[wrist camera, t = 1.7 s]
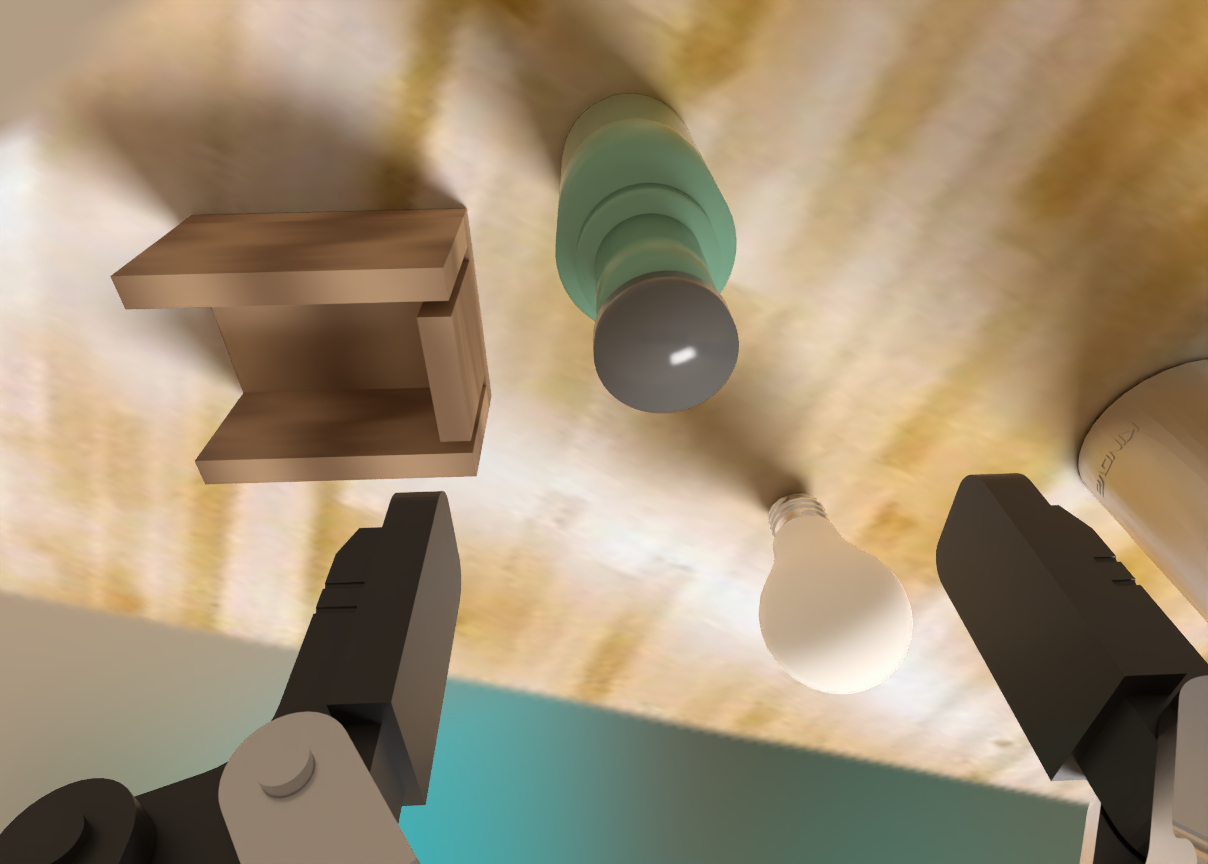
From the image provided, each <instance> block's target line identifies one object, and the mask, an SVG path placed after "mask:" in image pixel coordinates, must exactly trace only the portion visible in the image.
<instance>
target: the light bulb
mask: <svg viewBox="0 0 1208 864" xmlns="http://www.w3.org/2000/svg"><path fill="white" fill-rule="evenodd" d="M768 521H769V524H770V529H771V530H772V535H773V536H774V540H773V551H774V558H775V560H774V565H773V567H772V570H771V572H770V574H769V576H768V578H767V580H766V583H765V585H764V588H763V591H762V593H761V597H760V606H759V620H760V627H761V631H762V635H763V638H764V641H765V643H766V646H767V648H768V649H769V651H770V653H771V654H772V656H773V657H774V659H775V660H776V662H777V663H778V664H779V665H780V666H781V667H782V668H783V669H784V670H785V671H786V672H787V673H788V674H789V675H790V676H792V677H793V678H794V679H796V680H797V681H799V682H801V683H803V684H805V685H806V686H808V687H810V688H812V689H815V690H818V691H823V692H827V693H833V694H852V693H858V692H862V691H865V690H868V689H871V688H873V687H875V686H877V685H879V684H881V683H882V682H884V681H885V680H886V679H887V678H889V677H890V676H891V675H892V674H893V673H894V672H895V671H896V669H897V668H898V667H899V666H900V665H901V663H902V661H903V660H904V658H905V656H906V654H907V652H908V650H909V646H910V642H911V637H912V632H913V621H912V610H911V606H910V603H909V600H908V597H907V595H906V592H905V590H904V587H903V586H902V584H901V583H900V581H899V580H898V578H897V577H896V576H895V574H894V573H893V572H892V571H891V570H890V569H889V568H888V567H887V566H886V565H885V564H884V563H883V562H882V561H880V560H879V559H878V558H876V557H875V556H873V555H871V554H870V553H868V552H866V551H864V550H862V549H860V548H858V547H856V546H854V545H853V544H851V543H849V542H847V541H846V540H845V539H844V538H843V537H842V536H841V534H840V532H839V531H838V529H837V528H836V527H835V525H834V524H833V523H832V522H830V520H829V519H828V517H827V514H826V512H825V509H824V507H823V505H822V504H821V502H819V501H817V499H816V498H814V497H812V496H811V495H809V494H802V493H797V494H790V495H787V496H785V497H782V498H780V499H778V500H777V501H776V502H775V503H774V504H773V505H772V507H771V509H770V511H769V513H768Z"/></svg>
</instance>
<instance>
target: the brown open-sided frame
mask: <svg viewBox="0 0 1208 864" xmlns="http://www.w3.org/2000/svg"><path fill="white" fill-rule="evenodd" d="M111 279H112V281H113V283H114V285H115V287H116V289H117V292H118V294H119V296H120V298H121V300H122V303H123V305H124V307H125V309H156V308H194V307H211V308H212V310H213V313H214V315H215V318H216V321H217V323H218V326H219V329H220V331H221V334H222V337H223V339H224V342H225V345H226V347H227V350H228V353H229V355H230V358H231V361H232V363H233V366H234V369H235V371H236V374H237V377H238V379H239V382H240V385H241V387H242V390H243V392H244V393H243V394H242V396H241V397H240V399H239V400H238V401H237V403H236V404H235V406H234V407H233V408H232V410H231V411H230V413H229V414H228V415H227V417H226V418H225V420H224V421H223V422H222V424H221V425H220V427H219V428H218V429H217V431H216V432H215V434H214V435H213V436H212V438H211V439H210V441H209V442H208V443H207V445H206V446H205V448H204V449H203V450H202V452H201V453H200V455H199V456H198V457H197V459H196V460H195V463H196V465H197V467H198V469H199V471H200V474H201V476H202V478H203V480H204V482H205V484H231V483H265V482H298V481H331V480H364V479H398V478H431V477H464V476H477V471H478V465H479V460H480V454H481V449H482V444H483V438H484V433H485V428H486V422H487V417H488V411H489V406H490V401H491V390H490V382H489V374H488V367H487V359H486V351H485V344H484V336H483V328H482V321H481V313H480V306H479V298H478V290H477V283H476V275H475V267H474V260H473V252H472V244H471V237H470V229H469V221H468V214H467V209H427V210H386V211H346V212H305V213H265V214H224V215H191V216H190V217H189V218H187V219H186V220H185V221H183V222H182V223H181V224H179V225H178V226H177V227H175V228H174V229H173V230H171V231H170V232H169V233H167V234H166V235H165V236H163V237H162V238H161V239H159V240H158V241H157V242H155V243H154V244H153V245H151V246H150V247H149V248H147V249H146V250H145V251H143V252H142V253H141V254H139V255H138V256H137V257H135V258H134V259H133V260H131V261H130V262H129V263H127V264H126V265H125V266H123V267H122V268H121V269H119V270H118V271H117V272H115V273H114V274H113V275H111Z"/></svg>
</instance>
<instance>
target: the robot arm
mask: <svg viewBox="0 0 1208 864" xmlns="http://www.w3.org/2000/svg"><path fill="white" fill-rule="evenodd" d="M1078 468H1079V472H1080V476H1081V480H1082V481H1083V483H1084V484H1085V485H1086V487H1087V488H1088V490H1089V491H1090V492H1091V493H1092V494H1093V495H1094V496H1095V497H1096V499H1097V500H1098V501H1099V502H1100V503H1101V504H1102V505H1103V506H1104V507H1105V509H1106V510H1107V511H1108V512H1109V513H1110V514H1111V515H1112V516H1113V517H1114V519H1115V520H1116V521H1117V522H1118V523H1119V524H1120V525H1121V526H1122V527H1123V529H1124V530H1125V531H1126V532H1127V533H1128V534H1129V535H1130V536H1131V538H1132V539H1133V540H1134V541H1135V542H1136V544H1137V545H1138V546H1139V547H1140V548H1141V549H1142V550H1143V551H1144V552H1145V554H1146V555H1147V556H1148V557H1149V558H1150V559H1151V560H1152V561H1153V562H1154V563H1155V565H1156V566H1157V567H1158V568H1159V569H1160V570H1161V571H1162V572H1163V573H1164V575H1165V576H1166V577H1167V578H1168V579H1169V580H1170V581H1171V582H1172V583H1173V585H1174V586H1175V587H1176V588H1177V589H1178V590H1179V591H1180V592H1181V593H1182V595H1183V596H1184V597H1185V598H1186V599H1187V600H1188V601H1189V602H1190V603H1191V605H1192V606H1193V607H1194V608H1195V609H1196V610H1197V611H1198V612H1199V613H1200V614H1201V616H1202V617H1203V618H1204V619H1205V620H1206V621H1207V622H1208V359H1205V360H1200V361H1194V362H1189V363H1185V364H1182V365H1179V366H1177V367H1174V368H1171V369H1168V370H1165V371H1163V372H1161V373H1159V374H1157V375H1155V376H1153V377H1151V378H1149V379H1147V380H1145V381H1143V382H1141V383H1140V384H1138V385H1137V386H1135V387H1134V388H1132V389H1131V390H1129V391H1128V392H1126V393H1125V394H1123V395H1122V396H1121V397H1120V398H1119V399H1117V400H1116V401H1115V402H1114V403H1113V404H1112V405H1111V406H1109V407H1108V408H1107V409H1106V410H1105V411H1104V413H1103V414H1102V415H1101V416H1100V417H1099V418H1098V420H1097V421H1096V422H1095V423H1094V424H1093V426H1092V428H1091V429H1090V431H1089V433H1088V434H1087V436H1086V437H1085V439H1084V442H1083V445H1082V448H1081V451H1080V453H1079V465H1078ZM936 564H937V571H938V575H939V578H940V581H941V583H942V585H943V587H944V589H945V591H946V592H947V594H948V596H949V598H950V600H951V601H952V603H953V605H954V607H955V609H956V610H957V612H958V614H959V616H960V618H961V619H962V621H963V623H964V625H965V627H966V628H967V630H968V632H969V634H970V636H971V637H972V639H973V641H974V643H975V645H976V646H977V648H978V650H979V652H980V654H981V655H982V657H983V659H984V661H985V663H986V664H987V666H988V668H989V670H990V672H991V673H992V675H993V677H994V679H995V681H996V683H997V684H998V686H999V688H1000V690H1001V692H1002V693H1003V695H1004V697H1005V699H1006V701H1007V702H1008V704H1009V706H1010V708H1011V710H1012V711H1013V713H1014V715H1015V717H1016V719H1017V720H1018V722H1019V724H1020V726H1021V728H1022V729H1023V731H1024V733H1025V735H1026V737H1027V738H1028V740H1029V742H1030V744H1031V746H1032V747H1033V749H1034V751H1035V753H1036V755H1037V756H1038V758H1039V760H1040V762H1041V764H1042V765H1043V767H1044V769H1045V771H1046V773H1047V774H1048V776H1049V778H1050V780H1051V781H1064V780H1087V781H1088V782H1089V784H1090V786H1091V787H1092V789H1093V791H1094V792H1095V794H1096V796H1095V797H1094V798H1093V800H1092V801H1091V803H1090V805H1089V808H1088V812H1087V819H1086V825H1085V832H1084V839H1083V845H1082V852H1081V858H1080V864H1208V664H1207V662H1206V661H1205V660H1204V659H1203V658H1202V657H1201V655H1200V654H1199V653H1198V652H1197V651H1196V650H1195V648H1194V647H1193V646H1192V645H1191V644H1190V642H1189V641H1188V640H1187V639H1186V638H1185V637H1184V635H1183V634H1182V633H1181V632H1180V631H1179V630H1178V628H1177V627H1176V626H1175V625H1174V624H1173V623H1172V621H1171V620H1170V619H1169V618H1168V617H1167V615H1166V614H1165V613H1164V612H1163V611H1162V610H1161V608H1160V607H1159V606H1158V605H1157V604H1156V603H1155V601H1154V600H1153V599H1152V598H1151V597H1150V596H1149V594H1148V593H1147V592H1146V591H1145V590H1144V588H1143V587H1142V586H1141V585H1136V583H1135V578H1134V577H1133V576H1132V574H1131V573H1130V572H1129V571H1128V570H1127V569H1126V567H1125V566H1124V565H1123V564H1122V563H1121V562H1117V561H1116V556H1115V554H1114V553H1113V552H1112V551H1111V550H1110V549H1109V547H1108V546H1107V545H1106V544H1105V543H1104V542H1103V540H1102V539H1101V538H1100V537H1099V536H1098V535H1097V533H1096V532H1095V531H1094V530H1093V529H1092V528H1091V527H1089V526H1088V525H1086V524H1085V523H1084V522H1082V521H1081V520H1079V519H1078V518H1076V517H1075V516H1073V515H1072V514H1071V513H1069V512H1068V511H1066V510H1065V509H1063V508H1062V507H1060V506H1059V505H1052V506H1051V505H1050V504H1049V503H1048V502H1047V500H1046V499H1045V498H1044V497H1043V495H1042V494H1041V493H1040V492H1039V491H1038V489H1037V488H1036V487H1035V486H1034V484H1033V483H1032V482H1031V481H1030V480H1029V479H1028V478H1027V477H1026V476H1024V475H1022V474H1019V473H1009V474H980V475H968V476H966V477H965V478H964V479H963V480H962V482H961V483H960V486H959V488H958V491H957V493H956V496H955V499H954V502H953V504H952V507H951V510H950V512H949V515H948V518H947V520H946V523H945V526H944V528H943V531H942V534H941V536H940V539H939V542H938V545H937V550H936ZM460 594H461V567H460V559H459V554H458V549H457V544H456V539H455V533H454V528H453V523H452V518H451V513H450V508H449V503H448V498H447V495H446V493H445V492H443V491H438V492H409V493H395V494H394V495H393V497H392V499H391V501H390V504H389V507H388V511H387V514H386V517H385V520H384V523H383V526H382V527H379V528H359V529H358V530H357V531H356V533H355V534H354V535H353V536H352V537H351V538H350V539H349V540H348V541H347V542H346V544H345V545H344V546H343V547H342V548H341V549H340V550H339V551H338V552H337V553H336V555H335V558H334V561H333V563H332V566H331V569H330V571H329V574H328V577H327V579H326V582H325V589H323V590H322V593H321V595H320V598H319V601H318V603H317V606H316V614H313V617H312V619H311V622H310V625H309V627H308V630H307V633H306V635H305V638H304V641H303V643H302V646H301V649H300V651H299V654H298V657H297V659H296V662H295V665H294V667H293V670H292V673H291V675H290V678H289V681H288V683H287V686H286V689H285V691H284V694H283V697H282V699H281V702H280V705H279V707H278V709H277V711H276V713H275V716H274V717H273V719H272V721H271V722H269V723H267V724H265V725H264V726H262V727H261V728H259V729H258V730H256V731H255V732H254V733H252V734H251V735H250V736H249V737H248V738H247V739H246V740H244V742H243V743H242V744H241V745H240V746H239V747H238V748H237V749H236V751H235V752H234V753H233V755H232V756H231V758H230V759H229V761H228V762H226V763H224V764H223V765H221V766H219V767H217V768H215V769H212V770H210V771H207V772H205V773H202V774H199V775H196V776H193V777H191V778H188V779H185V780H182V781H179V782H176V783H173V784H170V785H167V786H164V787H162V788H159V789H156V790H153V791H150V792H147V793H144V794H141V795H138V796H135V797H134V796H133V795H132V793H131V792H130V791H129V790H128V789H127V788H126V787H125V786H124V785H122V784H121V783H119V782H116V781H114V780H110V779H104V778H94V779H87V780H81V781H78V782H74V783H71V784H68V785H66V786H64V787H61V788H59V789H56V790H54V791H53V792H51V793H49V794H47V795H45V796H44V797H42V798H41V799H39V800H38V801H36V802H35V803H33V804H32V805H30V806H29V807H28V808H27V809H25V810H24V811H23V812H22V813H21V814H20V815H18V816H17V817H16V818H15V819H14V820H13V821H12V822H11V823H10V824H9V825H8V826H7V827H6V828H5V829H4V831H3V832H2V833H1V834H0V864H420V862H419V861H418V859H417V857H416V855H415V854H414V852H413V850H412V848H411V847H410V845H409V843H408V841H407V839H406V838H405V836H404V834H403V832H402V830H401V829H400V827H399V825H398V823H399V818H400V813H401V807H402V806H411V805H425V804H426V799H427V793H428V787H429V781H430V775H431V769H432V763H433V757H434V751H435V745H436V738H437V733H438V727H439V721H440V715H441V709H442V703H443V697H444V691H445V685H446V680H447V674H448V668H449V662H450V656H451V650H452V644H453V638H454V632H455V626H456V620H457V614H458V608H459V602H460Z"/></svg>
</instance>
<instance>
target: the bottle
mask: <svg viewBox="0 0 1208 864" xmlns="http://www.w3.org/2000/svg"><path fill="white" fill-rule="evenodd" d="M735 254H736V232H735V226H734V222H733V218H732V215H731V213H730V210H729V208H728V206H727V204H726V202H725V200H724V198H723V196H722V194H721V192H720V190H719V188H718V187H717V185H716V183H715V181H714V179H713V177H712V175H711V173H710V171H709V170H708V168H707V166H706V164H705V162H704V160H703V158H702V156H701V154H700V152H699V151H698V149H697V147H696V145H695V143H694V141H693V139H692V137H691V135H690V133H689V132H688V130H687V128H686V126H685V125H684V123H683V121H682V120H681V119H680V117H679V116H678V115H677V114H676V113H675V112H674V111H673V110H672V109H671V108H670V107H668V106H667V105H666V104H664V103H663V102H661V101H659V100H657V99H655V98H652V97H649V96H646V95H641V94H619V95H615V96H611V97H608V98H605V99H603V100H601V101H599V102H597V103H595V104H594V105H592V106H591V107H590V108H588V109H587V110H586V111H585V112H584V113H583V114H582V115H581V116H580V117H579V118H578V119H577V121H576V122H575V123H574V125H573V127H572V128H571V130H570V132H569V134H568V136H567V139H566V141H565V145H564V149H563V155H562V165H561V179H560V192H559V206H558V220H557V233H556V263H557V269H558V272H559V276H560V279H561V281H562V284H563V286H564V288H565V290H566V292H567V293H568V295H569V297H570V298H571V299H572V301H573V302H574V303H575V305H576V306H577V307H578V308H579V309H580V310H581V311H582V312H583V313H585V314H586V315H587V316H589V317H590V318H591V319H593V320H594V321H595V325H594V332H593V346H594V362H595V367H596V371H597V373H598V376H599V378H600V380H601V382H602V383H603V385H604V386H605V388H606V389H607V390H608V391H609V392H610V393H611V394H612V395H613V396H614V397H615V398H616V399H618V400H619V401H621V402H622V403H624V404H626V405H628V406H630V407H632V408H635V409H637V410H641V411H645V412H652V413H671V412H677V411H682V410H685V409H689V408H691V407H694V406H696V405H698V404H700V403H702V402H704V401H706V400H707V399H708V398H710V397H711V396H713V395H714V394H715V393H716V392H717V391H718V390H719V389H720V388H721V387H722V386H723V385H724V384H725V383H726V381H727V380H728V378H729V377H730V375H731V373H732V371H733V369H734V367H735V364H736V361H737V357H738V350H739V341H738V334H737V330H736V326H735V324H734V321H733V319H732V316H731V314H730V311H729V309H728V306H727V304H726V302H725V301H724V299H723V297H722V296H721V295H720V293H721V291H722V290H723V288H724V286H725V285H726V283H727V281H728V278H729V276H730V274H731V271H732V268H733V264H734V260H735Z"/></svg>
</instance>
